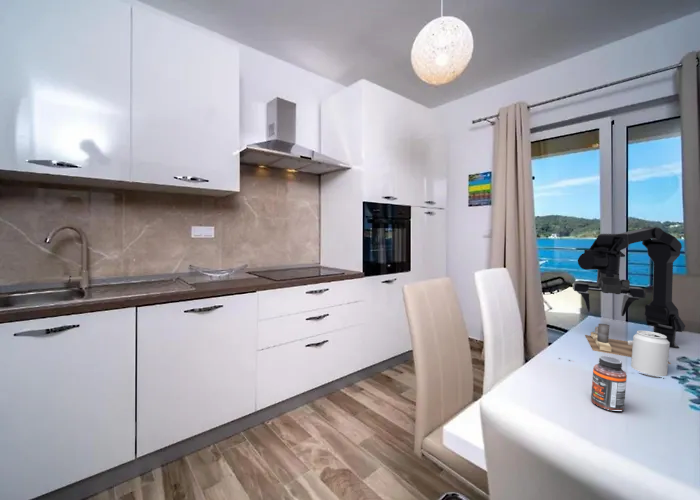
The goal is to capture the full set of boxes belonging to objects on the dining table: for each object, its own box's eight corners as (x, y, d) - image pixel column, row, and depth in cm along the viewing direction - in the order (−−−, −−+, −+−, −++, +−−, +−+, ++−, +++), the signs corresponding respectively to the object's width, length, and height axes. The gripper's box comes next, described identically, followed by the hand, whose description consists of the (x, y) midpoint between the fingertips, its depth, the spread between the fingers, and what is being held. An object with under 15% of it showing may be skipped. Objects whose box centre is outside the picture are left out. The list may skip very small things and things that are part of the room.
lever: (589, 335, 117) (591, 316, 117) (602, 337, 115) (604, 317, 115) (597, 349, 102) (599, 327, 102) (613, 352, 100) (614, 330, 100)
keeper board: (584, 337, 119) (585, 325, 118) (651, 347, 109) (652, 334, 108) (592, 353, 102) (593, 339, 102) (672, 367, 92) (673, 352, 92)
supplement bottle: (584, 399, 73) (587, 354, 73) (606, 398, 74) (609, 353, 73) (607, 414, 67) (610, 364, 67) (631, 413, 68) (635, 364, 67)
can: (674, 381, 83) (678, 338, 83) (642, 378, 85) (646, 336, 84) (653, 369, 91) (656, 330, 90) (624, 366, 92) (627, 328, 92)
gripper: (578, 269, 102) (574, 314, 103) (653, 274, 93) (649, 324, 94) (574, 266, 112) (571, 307, 113) (642, 271, 102) (638, 316, 103)
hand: (605, 313), depth 105 cm, fingers open, 9 cm apart
